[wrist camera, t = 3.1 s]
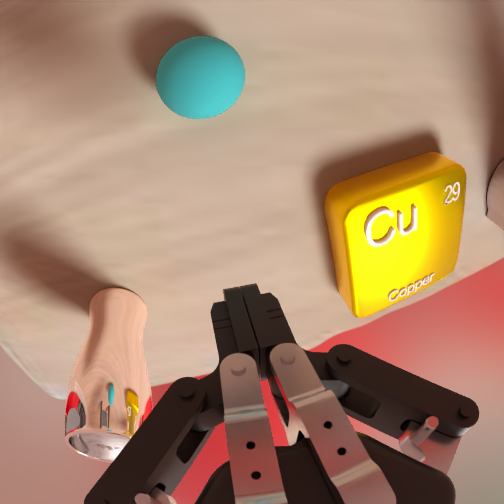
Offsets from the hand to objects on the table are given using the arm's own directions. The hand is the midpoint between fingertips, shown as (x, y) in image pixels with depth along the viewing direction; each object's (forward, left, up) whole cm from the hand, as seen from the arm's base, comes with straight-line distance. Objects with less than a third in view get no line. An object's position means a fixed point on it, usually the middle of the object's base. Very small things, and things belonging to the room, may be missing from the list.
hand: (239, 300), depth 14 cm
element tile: (-7, -19, -14) cm, 24 cm away
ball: (+9, 0, -10) cm, 14 cm away
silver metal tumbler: (-11, +11, -13) cm, 20 cm away
